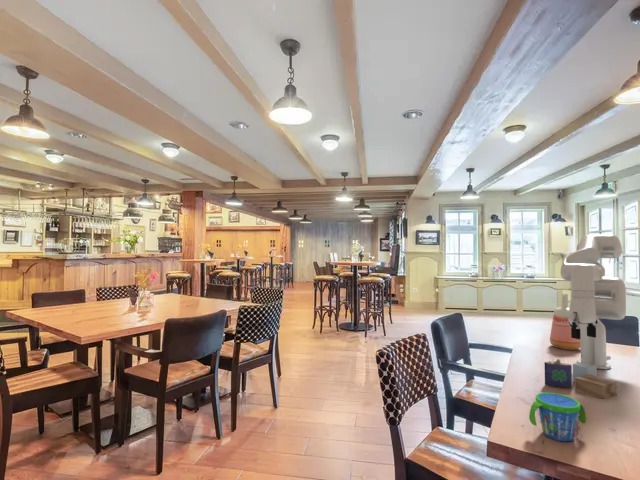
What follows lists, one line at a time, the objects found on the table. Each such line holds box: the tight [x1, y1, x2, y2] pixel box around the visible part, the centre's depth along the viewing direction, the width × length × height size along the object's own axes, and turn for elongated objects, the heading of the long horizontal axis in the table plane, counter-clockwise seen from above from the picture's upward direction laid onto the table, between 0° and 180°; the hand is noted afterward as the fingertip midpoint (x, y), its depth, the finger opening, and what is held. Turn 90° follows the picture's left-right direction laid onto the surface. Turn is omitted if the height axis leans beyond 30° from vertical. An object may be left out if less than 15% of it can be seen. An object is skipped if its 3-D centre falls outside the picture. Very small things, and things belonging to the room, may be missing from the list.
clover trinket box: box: [543, 358, 573, 389], centre depth 139 cm, size 9×3×11 cm, turn 74°
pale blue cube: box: [572, 362, 598, 383], centre depth 143 cm, size 6×6×7 cm
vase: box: [549, 293, 581, 351], centre depth 196 cm, size 14×14×30 cm
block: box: [574, 374, 618, 400], centre depth 133 cm, size 9×9×5 cm
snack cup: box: [528, 392, 588, 442], centre depth 101 cm, size 16×10×10 cm
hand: (583, 337), depth 143 cm, fingers open, 9 cm apart
